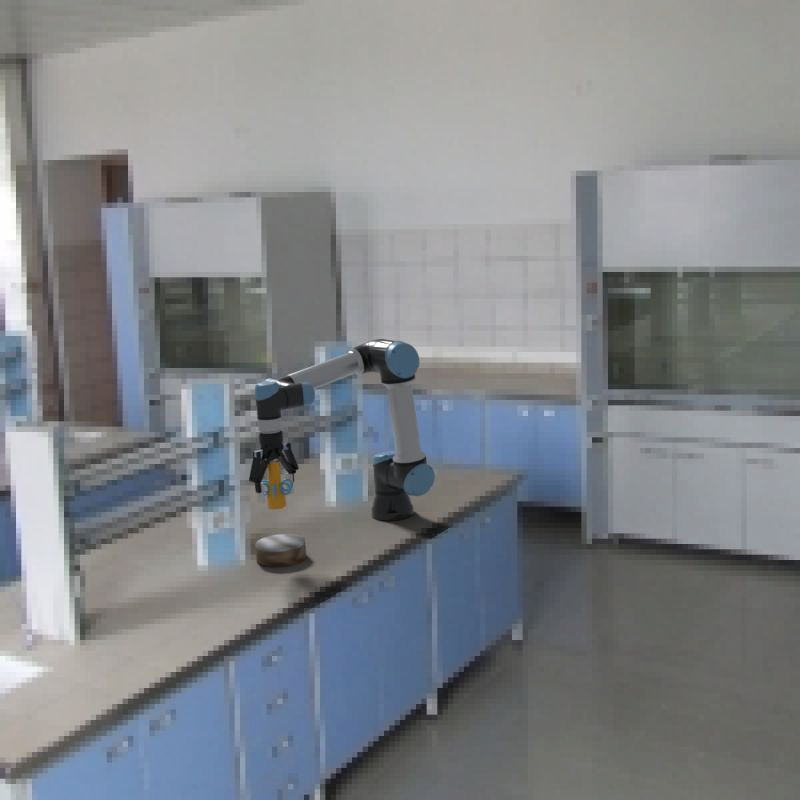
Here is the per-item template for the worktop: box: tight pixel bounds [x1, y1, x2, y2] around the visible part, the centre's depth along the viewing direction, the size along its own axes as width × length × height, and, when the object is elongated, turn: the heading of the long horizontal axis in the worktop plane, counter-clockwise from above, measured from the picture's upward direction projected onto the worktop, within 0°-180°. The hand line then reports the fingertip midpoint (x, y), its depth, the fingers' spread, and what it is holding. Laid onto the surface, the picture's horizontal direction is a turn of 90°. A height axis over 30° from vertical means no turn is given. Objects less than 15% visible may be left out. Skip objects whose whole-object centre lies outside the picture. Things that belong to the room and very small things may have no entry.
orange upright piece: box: [262, 459, 294, 510], centre depth 344 cm, size 12×10×15 cm
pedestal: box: [254, 533, 307, 568], centre depth 348 cm, size 16×16×6 cm
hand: (276, 497), depth 345 cm, fingers closed on orange upright piece, 11 cm apart
